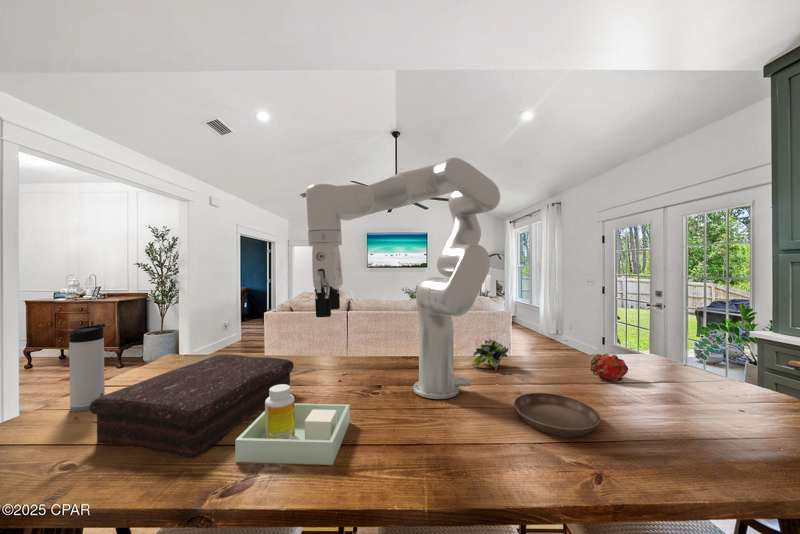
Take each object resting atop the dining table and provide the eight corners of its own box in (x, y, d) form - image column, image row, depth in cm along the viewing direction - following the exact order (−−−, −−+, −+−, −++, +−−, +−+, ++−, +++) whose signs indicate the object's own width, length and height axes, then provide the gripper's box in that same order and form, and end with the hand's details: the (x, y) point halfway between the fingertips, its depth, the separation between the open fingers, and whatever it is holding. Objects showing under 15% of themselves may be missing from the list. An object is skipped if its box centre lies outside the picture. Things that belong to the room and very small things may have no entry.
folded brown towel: (193, 464, 60) (193, 409, 60) (87, 445, 66) (86, 395, 66) (295, 391, 93) (295, 356, 93) (218, 383, 99) (218, 350, 99)
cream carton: (336, 434, 68) (336, 409, 68) (330, 447, 63) (330, 421, 63) (312, 433, 69) (312, 409, 69) (304, 447, 64) (304, 421, 64)
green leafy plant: (489, 379, 117) (506, 350, 119) (502, 385, 106) (520, 352, 109) (463, 361, 117) (480, 332, 120) (472, 365, 107) (491, 333, 109)
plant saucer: (615, 446, 66) (615, 431, 66) (521, 438, 69) (521, 423, 69) (583, 407, 83) (583, 395, 83) (509, 402, 86) (509, 390, 86)
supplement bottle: (299, 439, 66) (298, 388, 66) (270, 449, 63) (270, 395, 63) (288, 428, 71) (288, 380, 70) (261, 437, 67) (261, 387, 67)
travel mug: (111, 403, 85) (110, 324, 84) (77, 414, 79) (76, 329, 78) (98, 399, 87) (97, 322, 87) (65, 409, 81) (63, 327, 81)
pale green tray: (349, 424, 74) (349, 404, 74) (332, 467, 58) (332, 442, 58) (272, 422, 74) (272, 402, 74) (235, 465, 59) (235, 440, 59)
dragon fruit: (586, 383, 103) (623, 388, 104) (603, 375, 96) (642, 380, 97) (580, 356, 108) (615, 361, 109) (596, 347, 101) (633, 352, 102)
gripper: (333, 236, 68) (337, 319, 69) (347, 240, 85) (351, 306, 86) (296, 238, 68) (301, 321, 69) (318, 241, 86) (322, 307, 86)
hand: (328, 312), depth 78 cm, fingers open, 9 cm apart
